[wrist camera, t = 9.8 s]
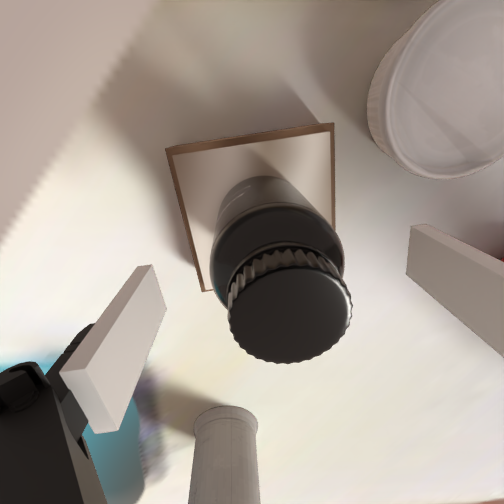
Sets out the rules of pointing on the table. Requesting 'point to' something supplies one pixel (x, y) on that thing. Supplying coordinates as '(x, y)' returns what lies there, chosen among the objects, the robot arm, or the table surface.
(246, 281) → the supplement bottle
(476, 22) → the ramekin
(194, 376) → the table surface
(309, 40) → the table surface
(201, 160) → the plinth
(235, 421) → the glass holder
